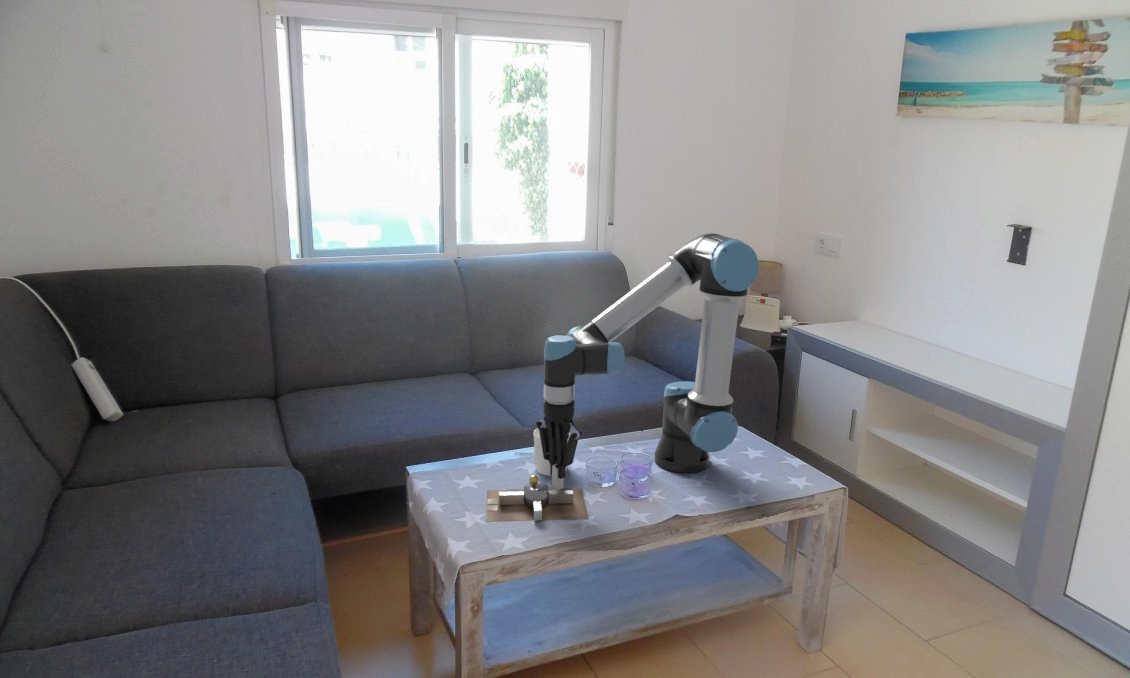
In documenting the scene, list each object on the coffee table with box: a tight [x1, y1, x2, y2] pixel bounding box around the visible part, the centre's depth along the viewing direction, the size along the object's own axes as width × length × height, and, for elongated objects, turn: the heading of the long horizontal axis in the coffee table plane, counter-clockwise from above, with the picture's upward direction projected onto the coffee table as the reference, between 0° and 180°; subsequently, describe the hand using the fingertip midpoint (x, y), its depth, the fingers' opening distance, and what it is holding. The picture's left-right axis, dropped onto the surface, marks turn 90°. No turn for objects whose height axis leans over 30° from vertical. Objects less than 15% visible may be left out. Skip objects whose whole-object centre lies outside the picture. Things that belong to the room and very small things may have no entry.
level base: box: [485, 487, 590, 523], centre depth 189 cm, size 24×16×2 cm, turn 95°
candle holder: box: [532, 427, 570, 477], centre depth 208 cm, size 10×10×12 cm
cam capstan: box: [499, 474, 574, 521], centre depth 188 cm, size 18×18×6 cm
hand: (557, 488), depth 194 cm, fingers closed
